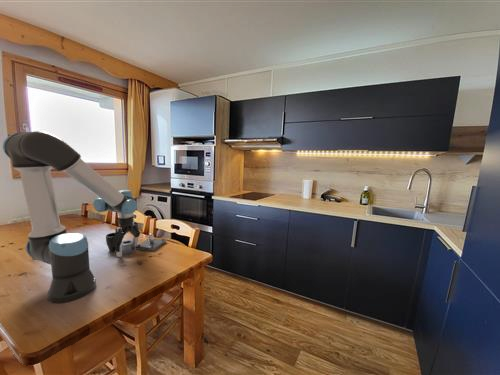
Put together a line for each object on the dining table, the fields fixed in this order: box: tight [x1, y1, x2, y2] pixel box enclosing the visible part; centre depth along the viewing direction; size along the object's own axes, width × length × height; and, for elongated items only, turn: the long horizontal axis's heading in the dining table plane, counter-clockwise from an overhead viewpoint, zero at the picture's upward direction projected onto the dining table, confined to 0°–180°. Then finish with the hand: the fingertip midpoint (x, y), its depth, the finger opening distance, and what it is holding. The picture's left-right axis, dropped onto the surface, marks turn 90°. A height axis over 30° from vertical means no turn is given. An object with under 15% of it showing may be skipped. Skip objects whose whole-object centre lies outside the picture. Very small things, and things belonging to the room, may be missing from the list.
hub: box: [120, 239, 136, 256], centre depth 123 cm, size 7×7×6 cm
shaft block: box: [135, 232, 167, 252], centre depth 132 cm, size 14×12×8 cm
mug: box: [105, 232, 116, 252], centre depth 124 cm, size 8×12×10 cm
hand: (127, 251), depth 123 cm, fingers open, 12 cm apart
